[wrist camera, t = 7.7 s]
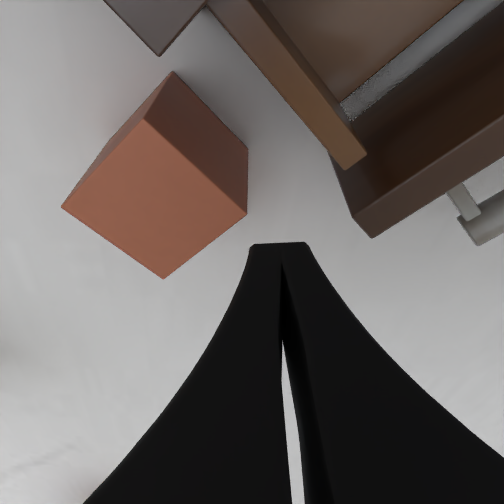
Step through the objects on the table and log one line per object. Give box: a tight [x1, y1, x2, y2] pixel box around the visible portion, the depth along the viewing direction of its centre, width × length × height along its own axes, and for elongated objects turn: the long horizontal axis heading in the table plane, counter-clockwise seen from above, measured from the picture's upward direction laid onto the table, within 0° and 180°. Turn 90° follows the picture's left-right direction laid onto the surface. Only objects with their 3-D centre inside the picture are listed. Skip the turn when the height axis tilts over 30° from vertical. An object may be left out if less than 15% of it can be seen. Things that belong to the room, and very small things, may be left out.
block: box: [61, 71, 248, 279], centre depth 15 cm, size 4×4×6 cm
